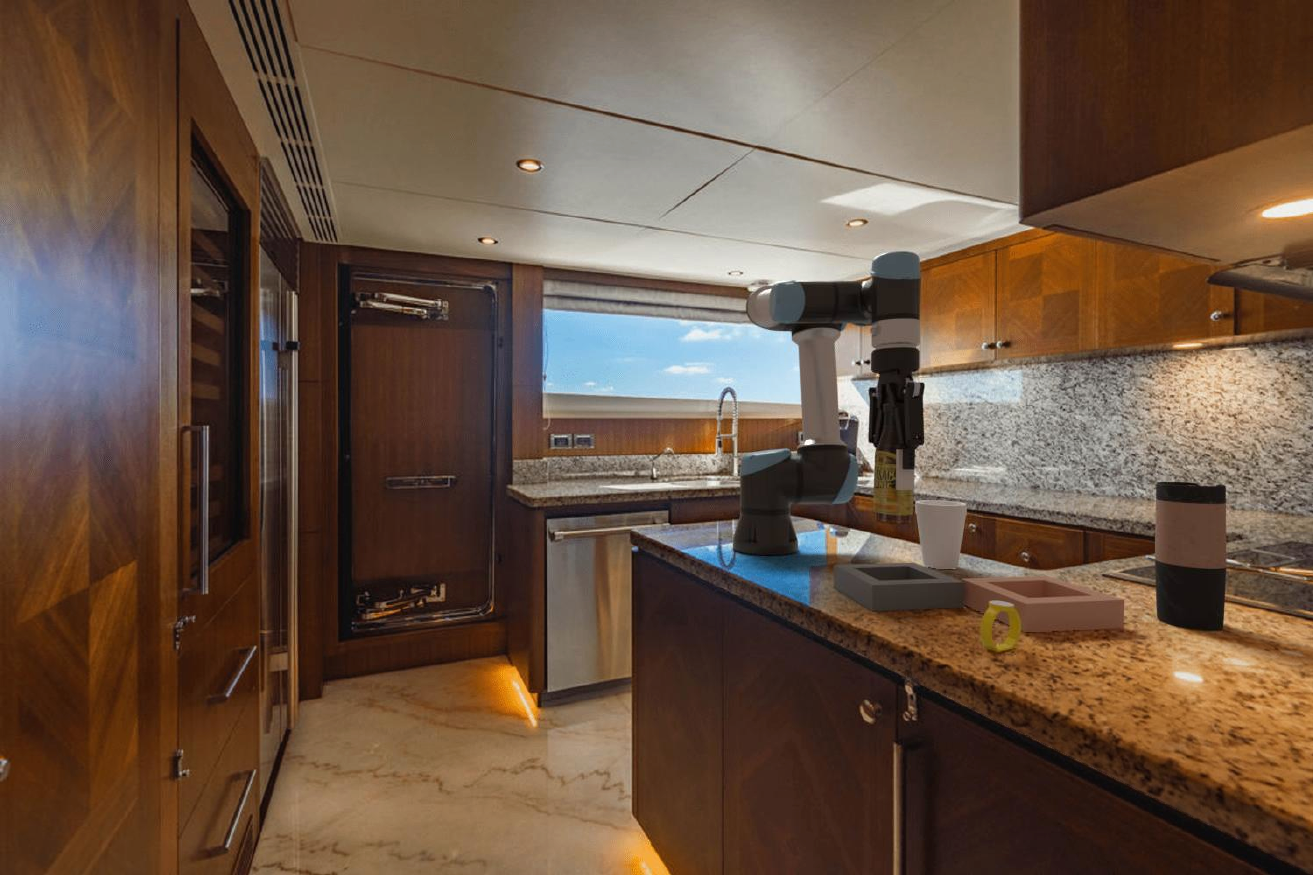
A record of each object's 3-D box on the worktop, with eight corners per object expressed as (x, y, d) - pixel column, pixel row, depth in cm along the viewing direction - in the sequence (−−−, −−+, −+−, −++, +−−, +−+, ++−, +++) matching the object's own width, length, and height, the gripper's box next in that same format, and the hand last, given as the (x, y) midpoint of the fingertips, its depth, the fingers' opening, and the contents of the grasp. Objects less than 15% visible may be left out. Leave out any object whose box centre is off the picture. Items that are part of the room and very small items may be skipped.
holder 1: (833, 587, 105) (833, 564, 105) (913, 584, 107) (913, 562, 107) (872, 611, 91) (872, 585, 91) (963, 607, 93) (963, 582, 93)
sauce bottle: (865, 521, 101) (865, 404, 101) (892, 518, 104) (892, 404, 103) (894, 526, 95) (894, 402, 95) (923, 524, 98) (923, 403, 97)
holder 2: (960, 603, 95) (961, 578, 95) (1046, 600, 97) (1046, 575, 97) (1025, 632, 81) (1025, 603, 81) (1123, 628, 83) (1124, 599, 83)
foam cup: (955, 562, 126) (955, 500, 125) (974, 572, 116) (974, 505, 116) (909, 561, 127) (909, 500, 127) (923, 571, 117) (923, 505, 117)
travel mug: (1162, 626, 84) (1163, 484, 84) (1148, 611, 91) (1149, 480, 91) (1235, 634, 80) (1236, 487, 80) (1214, 619, 87) (1215, 482, 87)
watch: (1004, 644, 78) (1007, 598, 78) (1025, 651, 75) (1028, 604, 75) (973, 648, 75) (976, 601, 75) (994, 655, 73) (997, 607, 73)
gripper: (848, 355, 108) (847, 482, 108) (904, 340, 89) (903, 494, 89) (887, 355, 109) (886, 481, 109) (951, 340, 90) (950, 493, 90)
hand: (894, 487), depth 99 cm, fingers closed on sauce bottle, 6 cm apart
